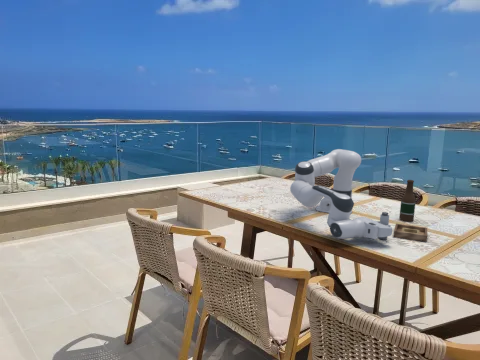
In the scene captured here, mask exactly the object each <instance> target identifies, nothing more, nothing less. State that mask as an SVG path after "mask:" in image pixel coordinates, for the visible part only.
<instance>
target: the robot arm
mask: <svg viewBox="0 0 480 360" xmlns="http://www.w3.org/2000/svg"><path fill="white" fill-rule="evenodd" d="M361 164H362V157H361V155H360V154H359V153H358V152H356V151H353V150H348V149H341V148H337V149H333V150H332V151H330V152H329V153H327V154H325V155H324V154H323V155H322V156H318V157H315V158H312V159H309V160H306V161H305V160H304V161H298V163H297V164H296V165H295V167H294V168H295V169H294V172H295V174H294V181H293V182H292V183H291V184H290V187H289V188H290V189H289V190H290V193H291V194H292V195H291V196H293V197H294V198H295V200H297V201H298V203H300V204H301V205H303V206H305V207H306V208H312V207H315V211H318V212H321V213H322V212H323V213H327V214H328V215H327V216H328V217H327V218H326V223H327V226H328V228H329V231H330V234H331V235H332V236H333V237H334V238H336V239H344V240H345V239H353V238H368V239H372V240H376V239H378V237H387V238H388V237H390V236H392V235H393V227H391V224H386V225H383V224H381V223H380V220H379V221H376V220H373V219H370V218H368V217H365V216H360V217H356V218H353V219H350V216H351V214H352V213H353V208H354V206H355V202H354V200H353V198H352V196H353V189H352V188H353V179H354V178H353V177H354V175H355V172H356V170H357V168H359V166H361ZM335 169H338V171H337V172H336V174H335V175H334V177H333V186H332V188H330V187H327V186H323V185H321V184H315V183H316V178H318V177H321V176H324V175H327V174H331V173H332V171H334V170H335ZM318 204H319V205H318Z"/></svg>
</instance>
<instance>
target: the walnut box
mask: <svg viewBox="0 0 480 360" xmlns="http://www.w3.org/2000/svg"><path fill="white" fill-rule="evenodd" d="M392 235H393V238H396V239H397V238H398V239H403V240H410V241H417V242H421V243H422V242H423V243H427V242H428V227H424V226H423V227H422V226H416V225H409V224H402V223H395V225H394V229H393V234H392Z"/></svg>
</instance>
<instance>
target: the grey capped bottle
mask: <svg viewBox="0 0 480 360" xmlns="http://www.w3.org/2000/svg"><path fill="white" fill-rule="evenodd" d="M379 216H380V219H379V221H380V223H381V224H383V225H386V224H388V225H390V224H389V223H390V215H389V213H388V212H386V211H382V213H381V214H380V215H379ZM377 239H378V240H381V241H387V240H388V236H387V237H377Z"/></svg>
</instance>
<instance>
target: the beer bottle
mask: <svg viewBox="0 0 480 360" xmlns="http://www.w3.org/2000/svg"><path fill="white" fill-rule="evenodd" d="M406 182H407V183H406V189H405V193H404V194H403V195H402V197H401V200H400V207H399V219H398V220H399V221H401V222H404V223H405V222H406V223H412V222H413V221H414V218H415V210H416V203H417V202H416V196H415V194H414V183H415V180H412V179H407V180H406Z"/></svg>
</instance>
